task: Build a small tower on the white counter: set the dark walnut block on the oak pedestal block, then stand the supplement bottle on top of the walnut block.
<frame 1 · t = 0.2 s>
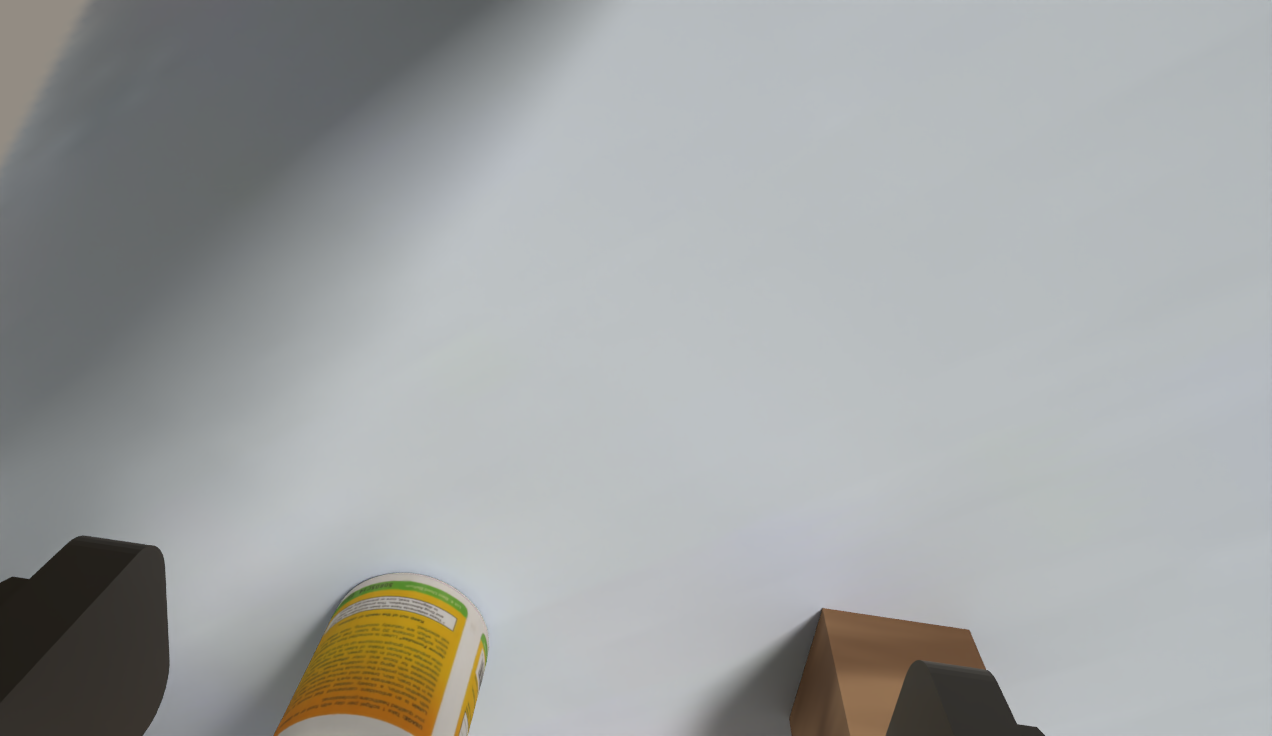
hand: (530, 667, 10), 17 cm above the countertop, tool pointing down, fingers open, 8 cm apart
supplement bottle: (415, 626, 32), on the countertop
walnut block: (876, 674, 32), on the countertop
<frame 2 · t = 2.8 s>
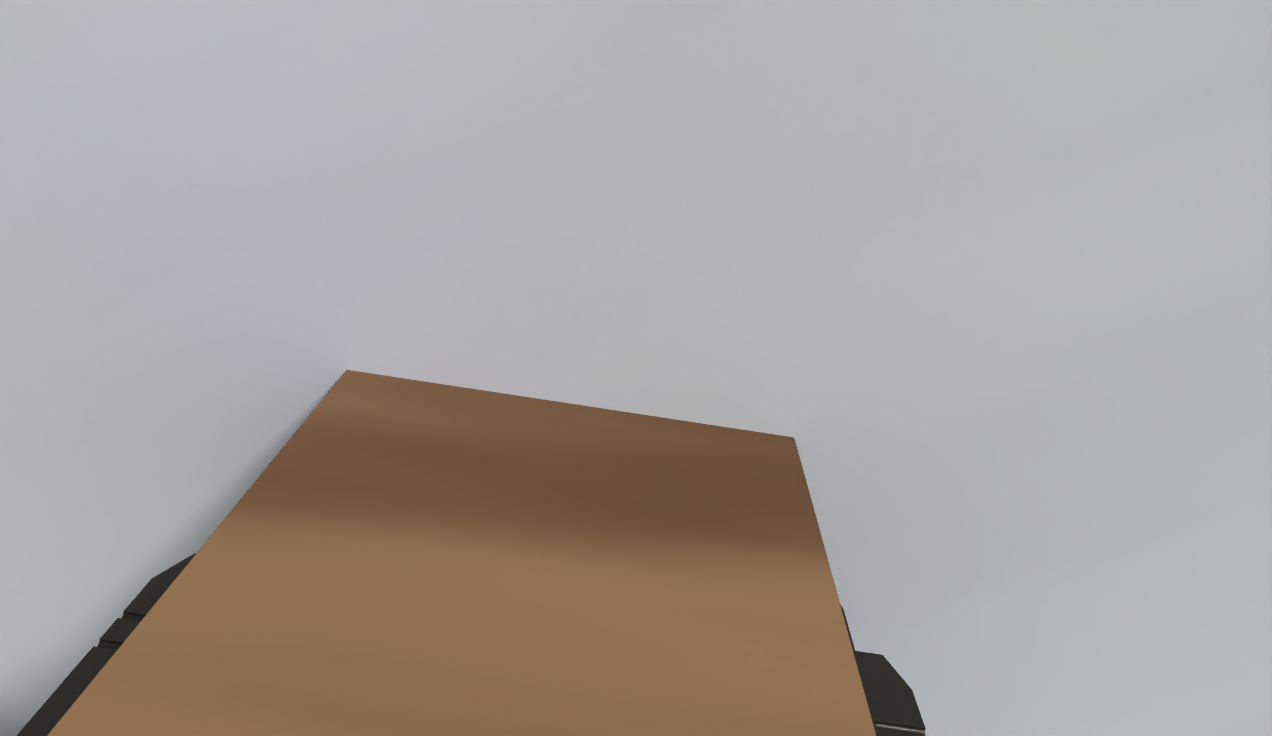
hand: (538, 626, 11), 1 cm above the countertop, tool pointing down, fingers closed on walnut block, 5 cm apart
walnut block: (546, 587, 11), on the countertop, touching gripper
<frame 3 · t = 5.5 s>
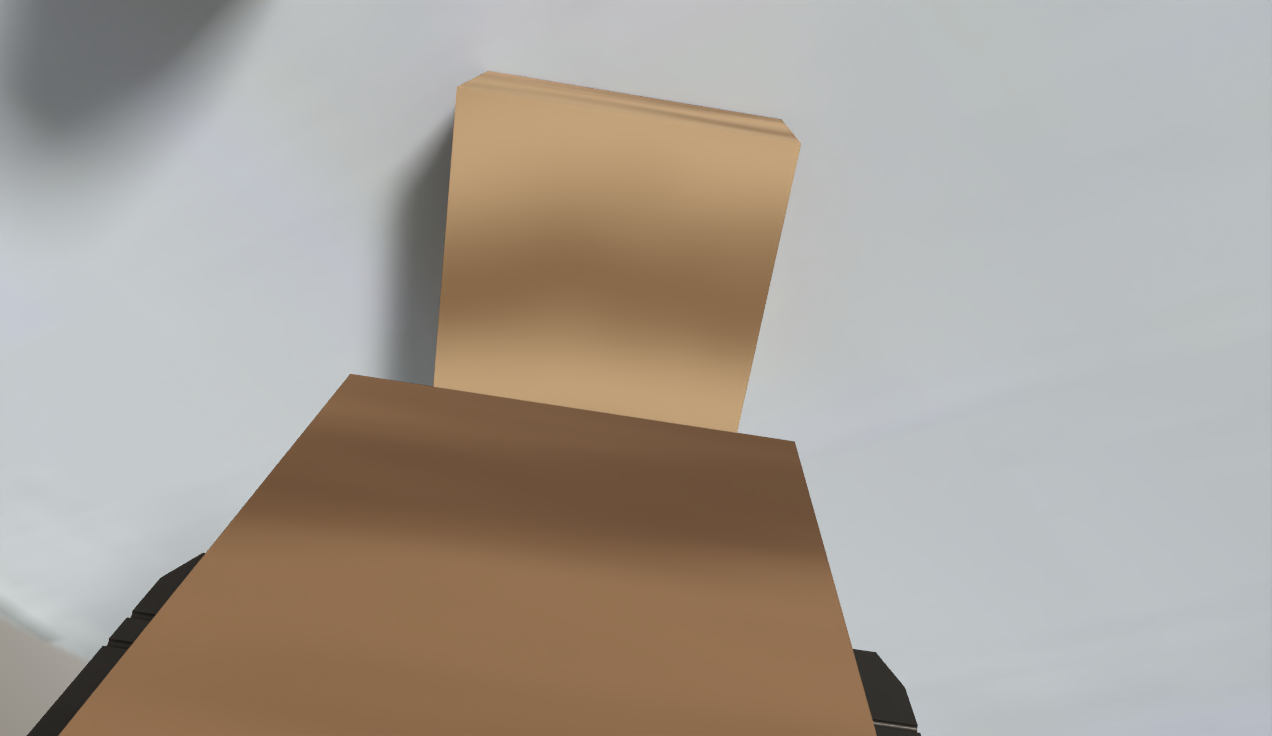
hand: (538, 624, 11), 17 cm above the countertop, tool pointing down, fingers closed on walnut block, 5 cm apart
walnut block: (548, 592, 11), point 17 cm above the countertop, touching gripper
oak pedestal: (613, 238, 27), on the countertop
when the fingers open (6 cm above the countertop, at t = 8.1 s): walnut block stays where it is, resting on oak pedestal.
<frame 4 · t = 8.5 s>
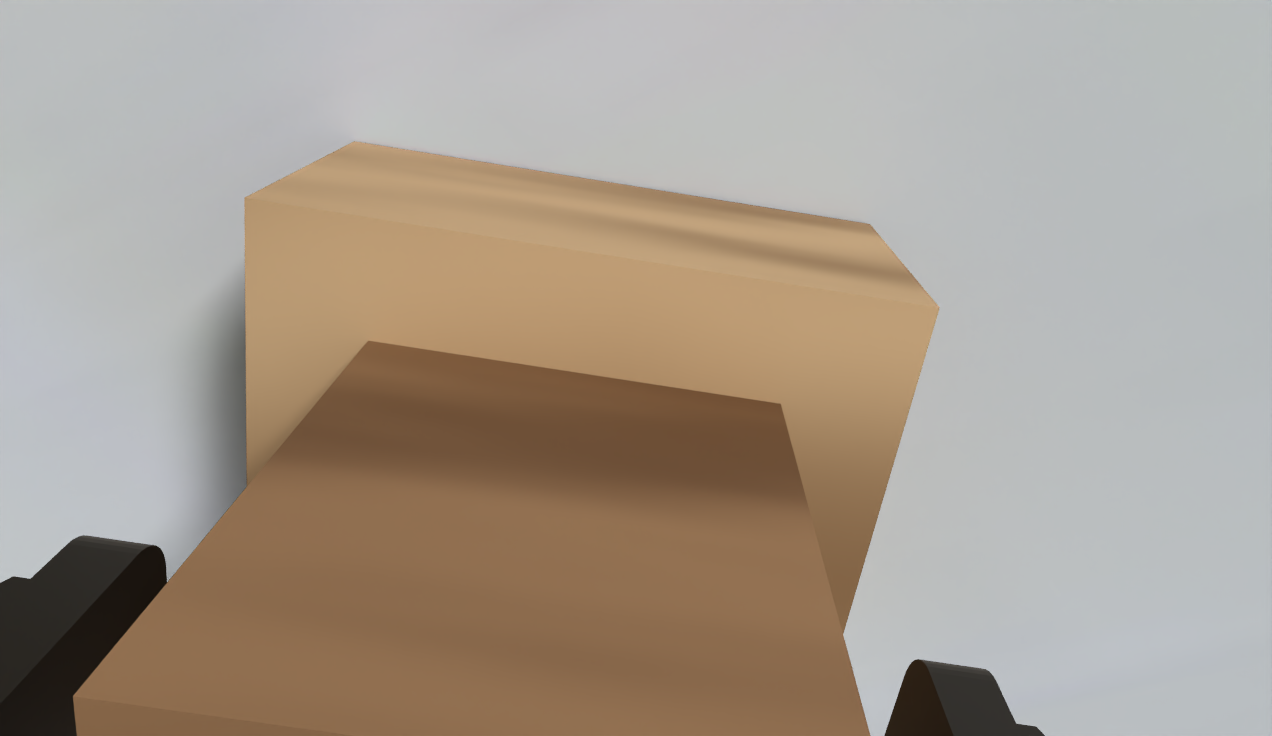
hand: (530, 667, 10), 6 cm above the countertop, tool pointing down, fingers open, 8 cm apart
walnut block: (551, 547, 12), point 4 cm above the countertop, touching oak pedestal
oak pedestal: (580, 415, 16), on the countertop
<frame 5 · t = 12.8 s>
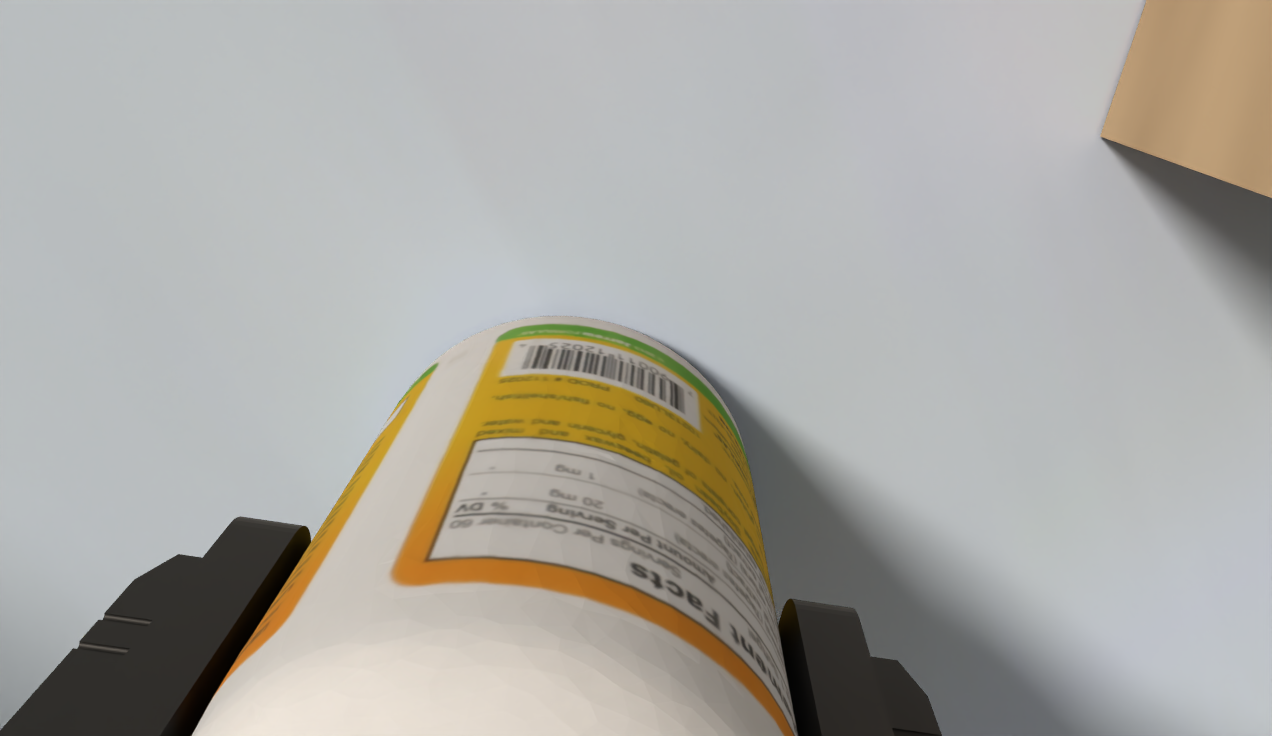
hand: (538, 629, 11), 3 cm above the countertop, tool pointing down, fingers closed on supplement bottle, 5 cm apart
supplement bottle: (569, 471, 14), on the countertop, touching gripper
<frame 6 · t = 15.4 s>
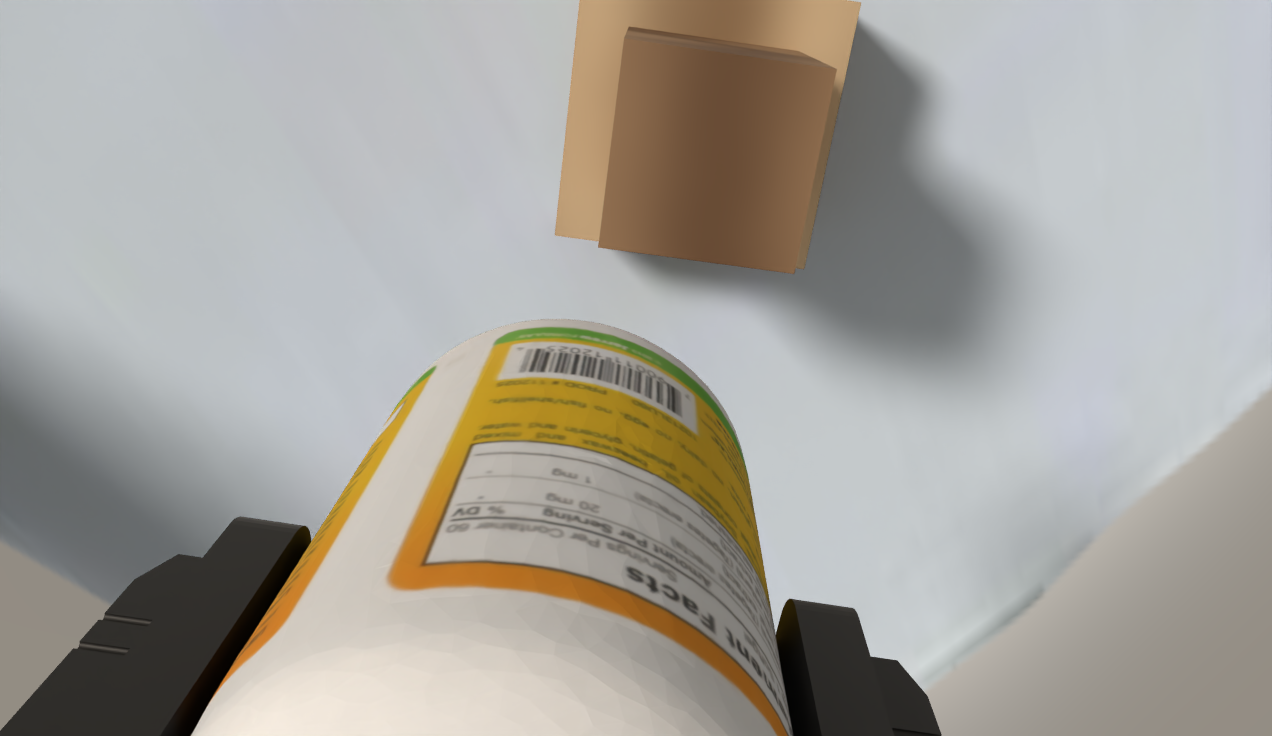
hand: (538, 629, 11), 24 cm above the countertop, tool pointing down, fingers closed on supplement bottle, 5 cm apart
supplement bottle: (567, 474, 14), point 20 cm above the countertop, touching gripper
walnut block: (700, 125, 28), point 4 cm above the countertop, touching oak pedestal
oak pedestal: (694, 107, 32), on the countertop
when the fingers open (14 cm above the countertop, at t = 18.3 s): supplement bottle stays where it is, resting on walnut block.
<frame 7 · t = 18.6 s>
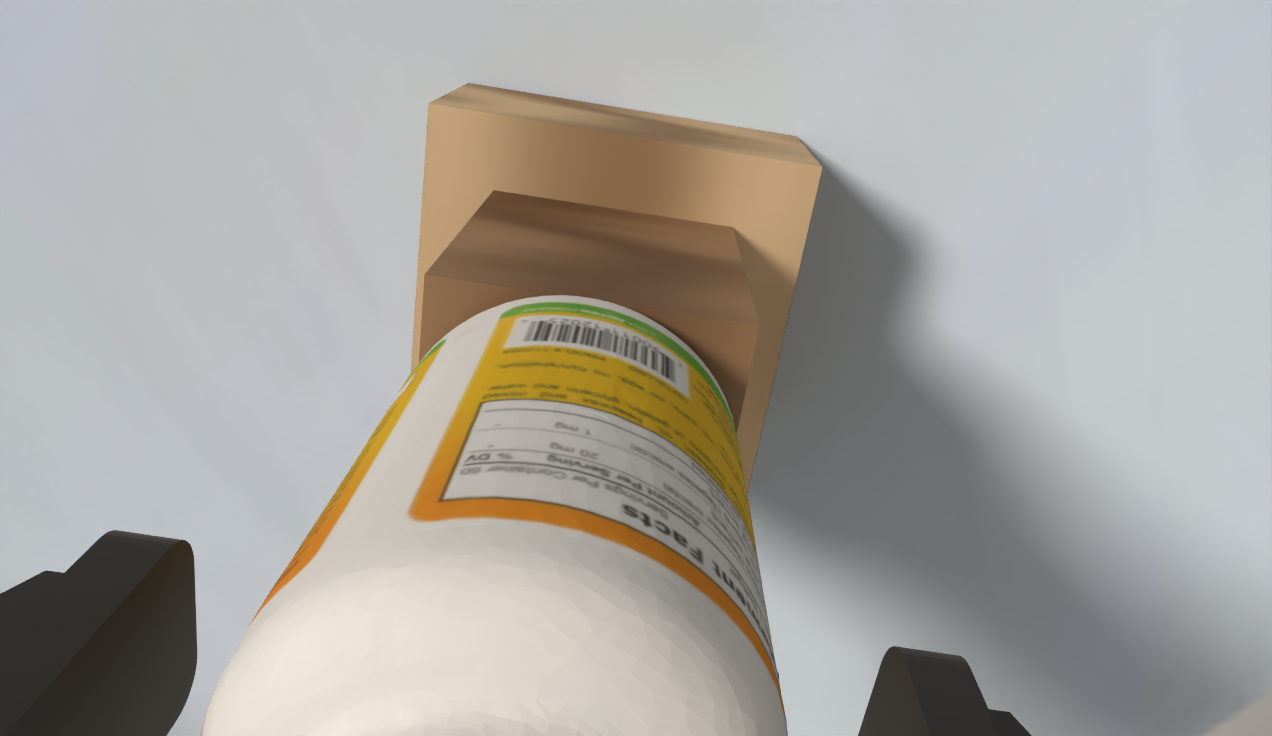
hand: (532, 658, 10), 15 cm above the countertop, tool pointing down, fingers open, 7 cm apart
supplement bottle: (569, 444, 15), point 10 cm above the countertop, touching walnut block
walnut block: (597, 321, 20), point 4 cm above the countertop, touching supplement bottle, oak pedestal
oak pedestal: (609, 268, 24), on the countertop
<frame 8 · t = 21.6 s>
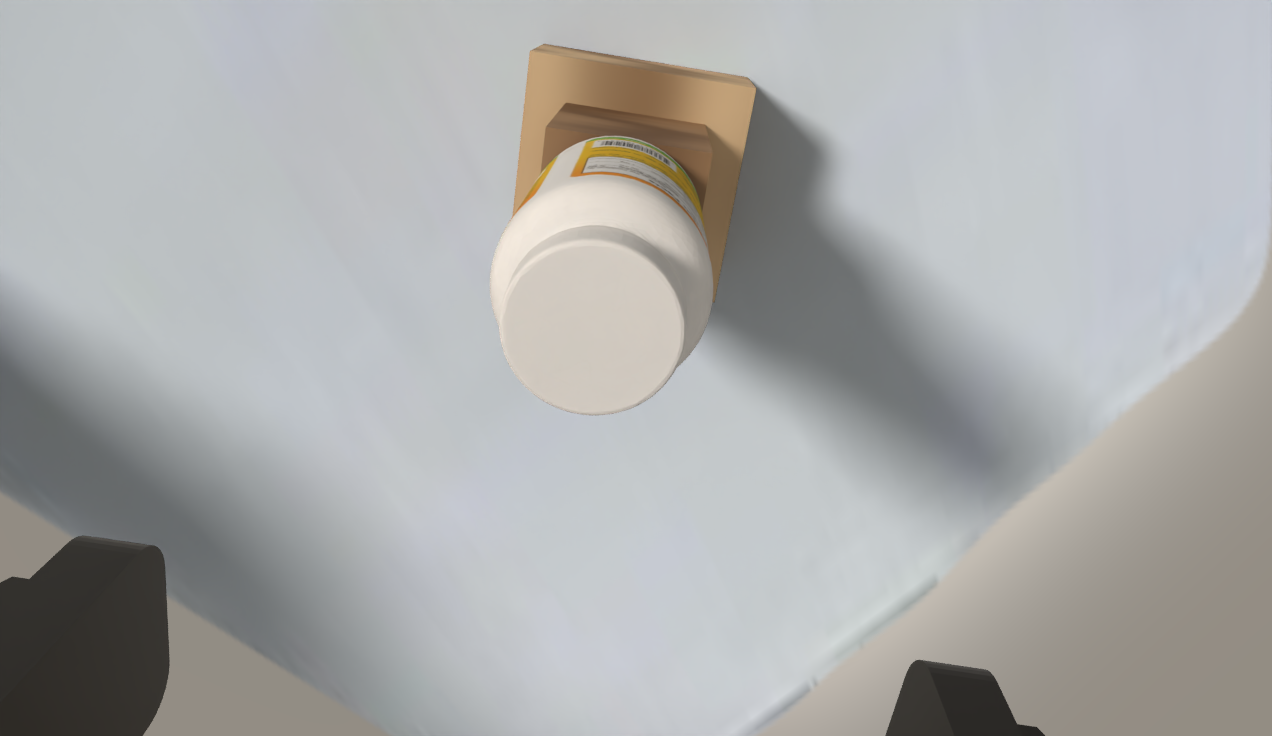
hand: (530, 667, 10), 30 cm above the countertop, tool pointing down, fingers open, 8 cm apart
supplement bottle: (615, 221, 29), point 10 cm above the countertop, touching walnut block
walnut block: (625, 183, 34), point 4 cm above the countertop, touching supplement bottle, oak pedestal
oak pedestal: (630, 163, 38), on the countertop
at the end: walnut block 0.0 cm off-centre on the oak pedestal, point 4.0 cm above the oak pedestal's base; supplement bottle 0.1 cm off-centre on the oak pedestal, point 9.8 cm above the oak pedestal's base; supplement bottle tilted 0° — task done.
